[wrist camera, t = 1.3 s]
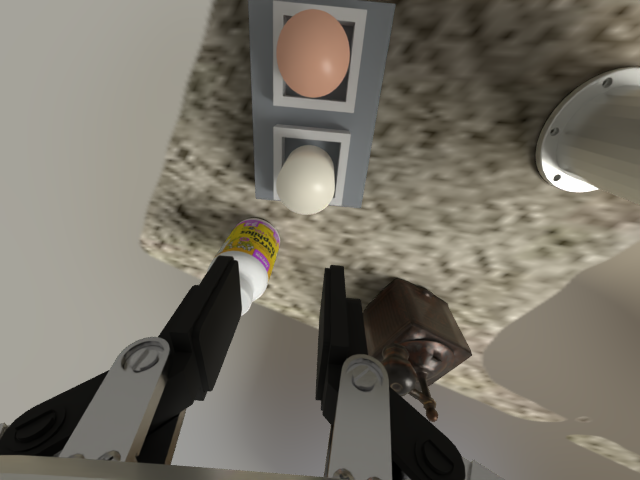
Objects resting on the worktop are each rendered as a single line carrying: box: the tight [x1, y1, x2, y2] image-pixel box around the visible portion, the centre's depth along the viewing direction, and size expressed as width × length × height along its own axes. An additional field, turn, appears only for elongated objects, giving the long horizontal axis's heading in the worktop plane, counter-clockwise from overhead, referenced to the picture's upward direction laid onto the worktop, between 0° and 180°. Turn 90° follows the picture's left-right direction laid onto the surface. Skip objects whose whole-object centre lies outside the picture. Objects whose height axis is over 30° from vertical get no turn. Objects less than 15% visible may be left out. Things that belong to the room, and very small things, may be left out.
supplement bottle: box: [207, 218, 280, 315], centre depth 33 cm, size 7×7×13 cm
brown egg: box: [276, 9, 350, 98], centre depth 20 cm, size 5×5×5 cm
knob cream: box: [276, 145, 335, 215], centre depth 25 cm, size 5×5×5 cm
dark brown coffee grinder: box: [363, 278, 472, 422], centre depth 36 cm, size 16×11×18 cm
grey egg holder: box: [248, 0, 396, 208], centre depth 28 cm, size 12×18×6 cm, turn 175°
